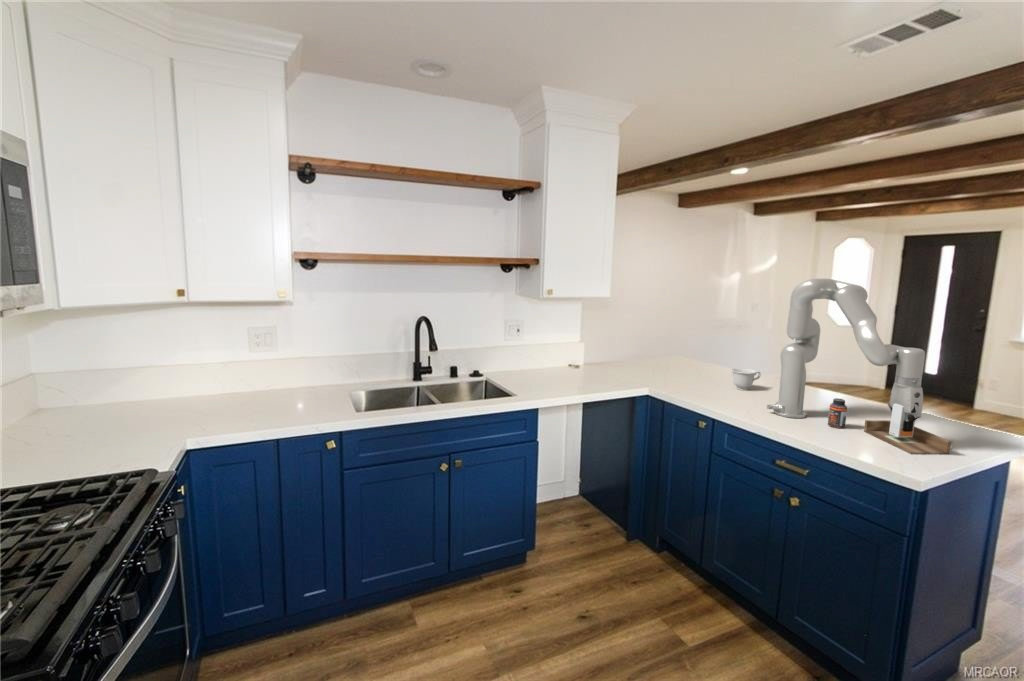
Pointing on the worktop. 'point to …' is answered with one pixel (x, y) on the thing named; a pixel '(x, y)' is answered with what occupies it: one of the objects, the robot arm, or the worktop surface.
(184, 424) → the worktop surface
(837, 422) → the supplement bottle
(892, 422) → the skincare box
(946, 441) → the wooden tray
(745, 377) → the teacup
